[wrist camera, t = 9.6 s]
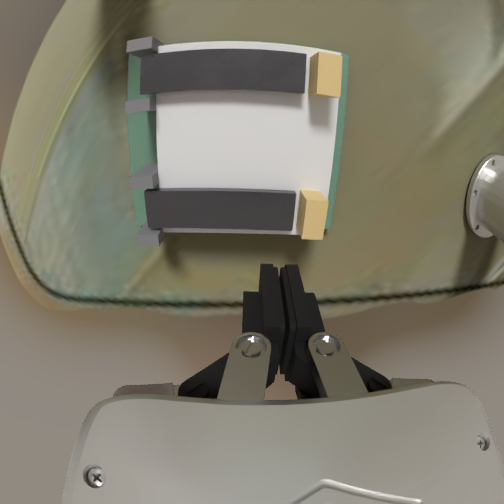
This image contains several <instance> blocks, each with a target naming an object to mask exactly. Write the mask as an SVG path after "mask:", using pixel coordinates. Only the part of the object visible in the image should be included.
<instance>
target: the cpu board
mask: <svg viewBox="0 0 504 504" xmlns="http://www.w3.org/2000/svg"><path fill="white" fill-rule="evenodd" d="M199 49H262V50H276V51H287V52H296V53H304V54H307V58H306V78H305V94H297V93H287V92H275V91H259V90H193V91H177V92H165V93H155V94H147V95H140V67H141V56H144V55H151V54H158V53H165V52H174V51H185V50H199ZM126 52H127V53H129V61H128V93H127V101H125V114H128V141H129V158H130V171H131V176H130V177H129V187H130V190H131V189H132V192H133V201H134V209H135V216H136V224H137V226H142V227H141V229H140V230H139V232H138V233H137V234H136V239H137V245H138V246H160V244H161V242H162V240H163V238H164V236H165V234H166V233H167V232H183V233H249V234H289V235H300V236H301V239H314V240H323V234H324V229H330V226H331V220H332V214H333V208H334V201H335V195H336V188H337V181H338V174H339V166H340V158H341V150H342V141H343V132H344V121H345V110H346V97H347V82H348V61H349V54H345V53H340V52H336V51H330V50H325V49H319V48H313V47H307V46H300V45H291V44H282V43H271V42H255V41H205V42H189V43H177V44H168V45H164V44H162V43H161V42H160V41H158V40H157V39H156V38H154V37H153V36H151V37H145V38H139V39H134V40H129V41H127V50H126ZM153 188H246V189H272V190H291V191H295V192H296V202H295V212H294V221H293V229H292V231H277V230H245V229H201V228H148V223H147V215H146V206H145V197H144V191H145V190H146V189H153Z"/></svg>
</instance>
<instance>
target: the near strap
mask: <svg viewBox="0 0 504 504" xmlns="http://www.w3.org/2000/svg"><path fill="white" fill-rule="evenodd" d="M306 58H307V54H304V53H296V52H287V51H276V50H262V49H199V50H185V51H174V52H165V53H158V54H151V55H144V56H141V67H140V95H147V94H155V93H165V92H177V91H193V90H259V91H275V92H287V93H297V94H305V78H306Z"/></svg>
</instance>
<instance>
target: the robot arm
mask: <svg viewBox="0 0 504 504" xmlns="http://www.w3.org/2000/svg"><path fill="white" fill-rule="evenodd" d="M466 217H467V221H468V224H469V226H470V228H471V230H472V231H473V232H474V233H475V234H477V235H478V236H480V237H483V238H487V237H491V236H493V235H494V236H496V237H497V238H498V239H499V240H501V241H502V242H503V243H504V156H501V155H499V154H493V155H489V156H488V157H486V158H485V159H484V160H483V161H482V162H481V163H480V164H479V166H478V167H477V168H476V170H475V172H474V174H473V176H472V179H471V181H470V184H469V188H468V192H467V198H466ZM278 366H280V374H285V381H289V382H290V383H292V384H293V385H295V392H296V395H297V399H298V400H264V396H265V389H266V388H267V387H268V386H270V385H271V384H272V383H273V382H274V379H275V374H277V371H278ZM62 504H504V466H503V462H502V458H501V455H500V452H499V448H498V445H497V442H496V439H495V436H494V433H493V430H492V428H491V425H490V423H489V420H488V418H487V416H486V414H485V411H484V409H483V407H482V405H481V403H480V402H479V400H478V398H477V397H476V395H475V394H474V392H473V391H472V390H471V389H470V388H468V387H467V386H465V385H463V384H459V383H454V382H443V381H440V382H434V381H432V380H428V379H400V378H392V379H391V380H388V379H387V378H385V377H384V376H383V375H381V374H379V373H378V372H376V371H374V370H372V369H371V368H369V367H367V366H365V365H364V364H362V363H360V362H358V361H357V360H355V359H354V358H352V357H351V356H350V354H349V352H348V350H347V348H346V347H345V344H344V342H343V341H342V340H341V338H339V337H338V336H337V335H335V334H333V333H329V332H325V329H324V326H323V322H322V318H321V315H320V311H319V308H318V304H317V301H316V297H315V294H314V293H305V292H304V288H303V284H302V280H301V276H300V272H299V268H298V265H289V264H286V265H285V268H284V267H281V268H280V276H279V275H278V268H277V267H273V264H261V266H260V280H259V292H248V291H244V293H243V322H242V334H240V335H238V336H237V337H236V338H235V339H234V340H233V342H232V346H231V349H230V352H229V353H228V354H226V355H225V356H223V357H222V358H220V359H219V360H217V361H215V362H214V363H213V364H211V365H210V366H208V367H206V368H205V369H203V370H202V371H200V372H198V373H197V374H195V375H194V376H192V377H190V378H189V379H187V380H186V381H185V382H183V383H182V384H181V385H173V383H166V384H151V385H150V384H148V385H126V386H122V387H120V388H118V389H117V390H116V391H115V392H114V394H113V397H112V398H108V399H105V400H103V401H101V402H99V403H97V404H96V405H95V406H94V407H93V408H92V409H91V410H90V411H89V413H88V414H87V416H86V418H85V420H84V422H83V424H82V426H81V429H80V431H79V434H78V436H77V439H76V442H75V445H74V449H73V452H72V456H71V459H70V463H69V467H68V472H67V476H66V481H65V486H64V491H63V497H62Z"/></svg>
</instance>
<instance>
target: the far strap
mask: <svg viewBox="0 0 504 504" xmlns="http://www.w3.org/2000/svg"><path fill="white" fill-rule="evenodd" d="M144 197H145V206H146V215H147V223H148V228H201V229H245V230H277V231H292V229H293V221H294V212H295V202H296V192H295V191H291V190H272V189H246V188H153V189H146V190H145V191H144Z"/></svg>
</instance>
